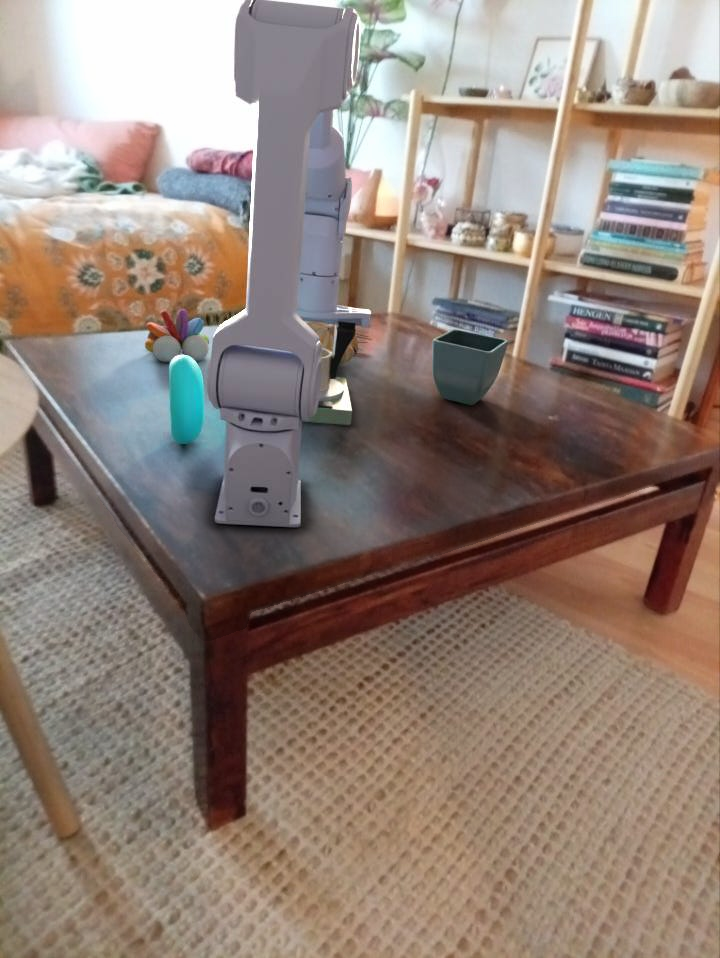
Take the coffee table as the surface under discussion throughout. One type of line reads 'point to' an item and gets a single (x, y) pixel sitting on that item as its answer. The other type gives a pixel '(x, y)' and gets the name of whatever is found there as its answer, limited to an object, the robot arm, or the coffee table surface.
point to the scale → (334, 404)
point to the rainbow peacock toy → (177, 337)
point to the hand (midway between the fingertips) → (309, 374)
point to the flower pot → (466, 364)
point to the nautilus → (327, 339)
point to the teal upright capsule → (186, 399)
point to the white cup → (326, 368)
